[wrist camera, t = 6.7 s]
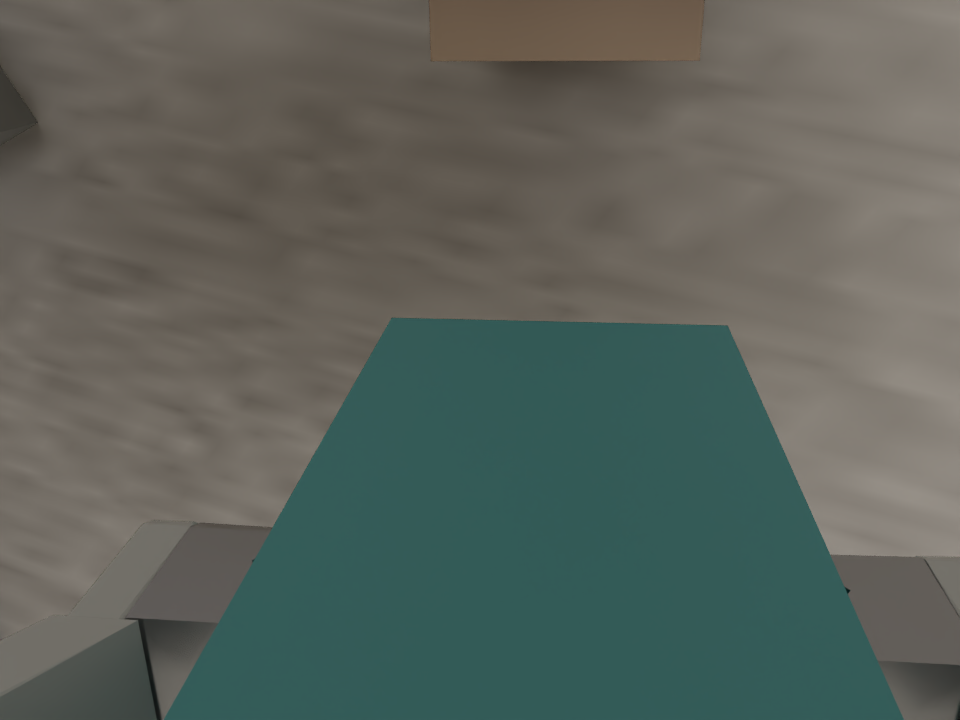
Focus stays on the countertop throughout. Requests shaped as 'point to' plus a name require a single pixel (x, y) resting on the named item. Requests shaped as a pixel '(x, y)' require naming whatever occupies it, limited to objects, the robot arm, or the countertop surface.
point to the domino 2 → (543, 545)
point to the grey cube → (12, 111)
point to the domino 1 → (566, 30)
